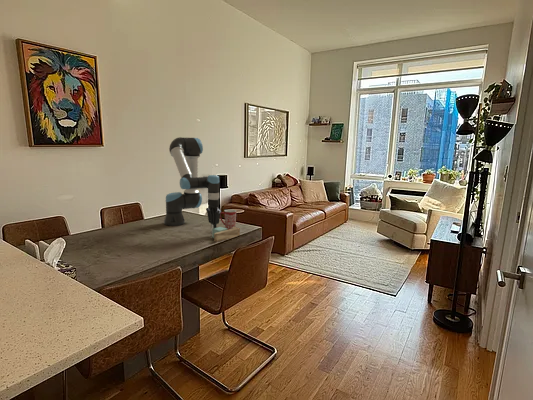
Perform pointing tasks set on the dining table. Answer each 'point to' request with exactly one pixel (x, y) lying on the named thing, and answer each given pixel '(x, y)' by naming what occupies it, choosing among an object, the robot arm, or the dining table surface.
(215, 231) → the block
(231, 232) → the stop board
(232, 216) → the mug
